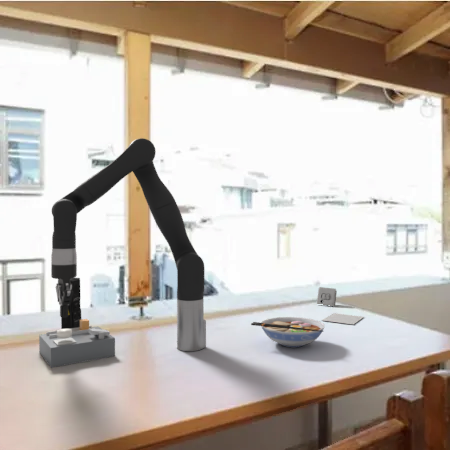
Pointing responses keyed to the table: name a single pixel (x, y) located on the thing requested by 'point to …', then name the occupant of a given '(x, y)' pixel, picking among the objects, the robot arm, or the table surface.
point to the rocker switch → (98, 331)
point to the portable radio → (73, 307)
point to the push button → (64, 333)
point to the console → (75, 347)
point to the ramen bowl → (291, 330)
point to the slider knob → (84, 324)
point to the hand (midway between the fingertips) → (64, 317)
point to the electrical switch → (326, 296)
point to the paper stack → (343, 318)
